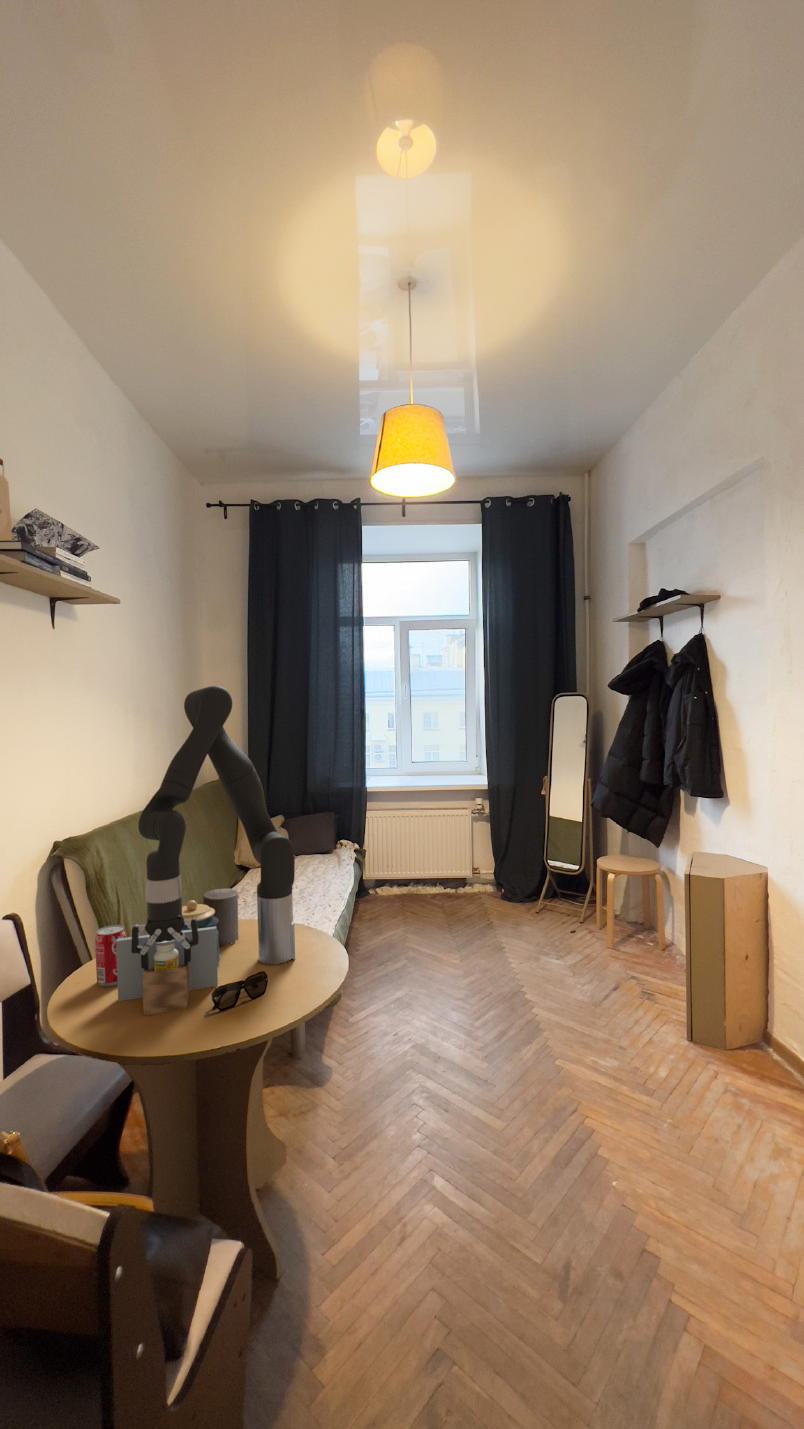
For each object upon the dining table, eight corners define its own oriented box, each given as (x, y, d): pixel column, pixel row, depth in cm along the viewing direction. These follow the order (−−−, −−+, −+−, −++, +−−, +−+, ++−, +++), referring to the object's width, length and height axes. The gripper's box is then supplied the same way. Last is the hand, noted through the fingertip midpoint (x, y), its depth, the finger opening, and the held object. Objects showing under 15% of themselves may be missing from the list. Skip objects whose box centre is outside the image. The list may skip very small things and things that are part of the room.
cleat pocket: (189, 990, 144) (188, 953, 144) (187, 1008, 135) (185, 968, 135) (148, 996, 141) (147, 958, 141) (143, 1015, 133) (142, 974, 132)
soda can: (116, 989, 145) (114, 935, 145) (90, 987, 147) (88, 934, 147) (134, 975, 152) (133, 924, 152) (109, 974, 154) (107, 923, 154)
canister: (185, 956, 164) (183, 891, 163) (229, 959, 161) (227, 893, 161) (156, 977, 151) (153, 907, 151) (203, 981, 148) (201, 910, 148)
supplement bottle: (181, 977, 142) (179, 936, 142) (178, 987, 137) (176, 945, 136) (156, 980, 141) (155, 939, 140) (152, 990, 135) (151, 948, 135)
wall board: (217, 983, 147) (216, 926, 147) (217, 986, 146) (215, 928, 145) (119, 998, 141) (117, 938, 140) (118, 1001, 139) (116, 941, 139)
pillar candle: (197, 946, 170) (196, 893, 170) (213, 933, 180) (212, 883, 180) (229, 948, 169) (228, 895, 168) (244, 934, 178) (243, 884, 178)
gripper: (197, 888, 144) (199, 955, 144) (132, 895, 140) (135, 964, 140) (196, 897, 137) (198, 968, 137) (127, 905, 133) (130, 978, 133)
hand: (166, 966), depth 138 cm, fingers open, 8 cm apart
